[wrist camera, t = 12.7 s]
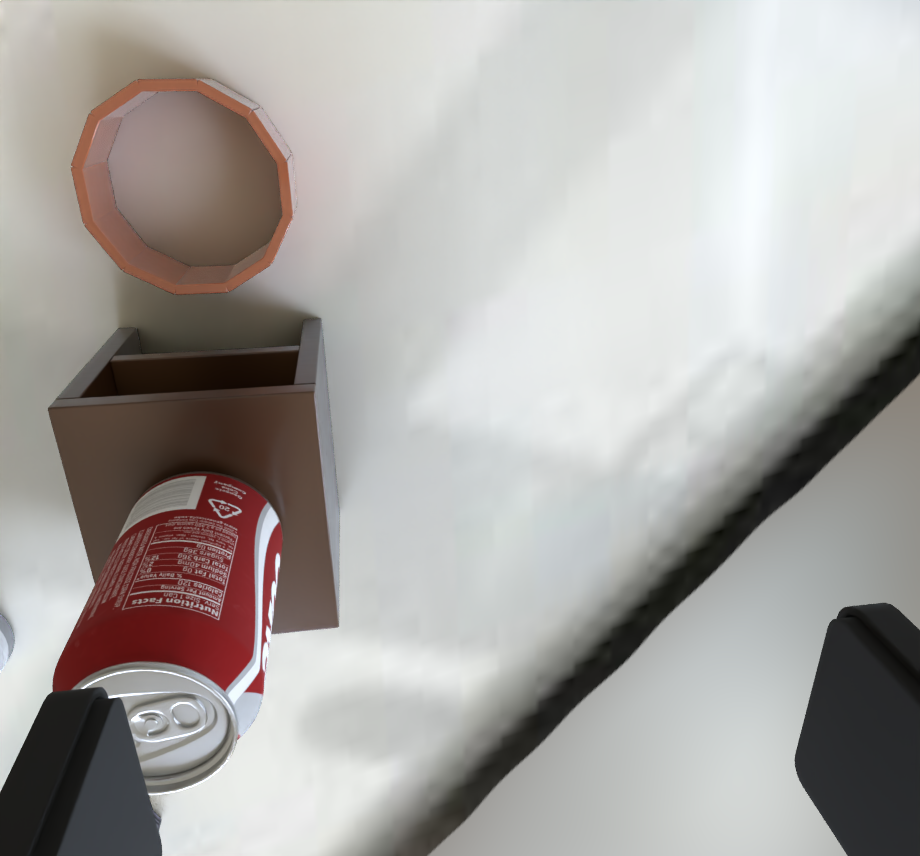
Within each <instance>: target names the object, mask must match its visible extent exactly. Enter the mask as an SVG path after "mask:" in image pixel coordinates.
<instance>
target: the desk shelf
mask: <svg viewBox="0 0 920 856" xmlns="http://www.w3.org/2000/svg"><path fill="white" fill-rule="evenodd" d="M48 412H49V416H50V419H51V423H52V427H53V430H54V434H55V438H56V442H57V445H58V449H59V453H60V456H61V460H62V464H63V468H64V471H65V475H66V479H67V482H68V486H69V490H70V493H71V497H72V501H73V505H74V508H75V512H76V516H77V519H78V523H79V527H80V530H81V534H82V538H83V542H84V545H85V549H86V553H87V556H88V560H89V564H90V567H91V571H92V575H93V579H94V582H95V584H96V582H97V580H98V578H99V576H100V574H101V572H102V570H103V568H104V566H105V564H106V562H107V560H108V557H109V555H110V553H111V551H112V549H113V547H114V545H115V543H116V541H117V539H118V537H119V535H120V533H121V531H122V529H123V527H124V524H125V522H126V520H127V518H128V516H129V514H130V512H131V510H132V508H133V506H134V505H135V503H136V502H137V500H138V499H139V498H140V497H141V496H142V494H143V493H145V492H146V491H147V490H148V489H149V488H151V487H152V486H153V485H155V484H156V483H158V482H160V481H162V480H164V479H166V478H168V477H171V476H174V475H178V474H182V473H187V472H197V471H205V472H215V473H221V474H225V475H229V476H232V477H235V478H237V479H240V480H242V481H244V482H246V483H248V484H249V485H251V486H252V487H254V488H255V489H257V490H258V491H259V492H260V493H262V494H263V495H264V496H265V497H266V498H267V500H268V501H269V502H270V503H271V505H272V506H273V508H274V509H275V511H276V513H277V515H278V517H279V520H280V523H281V527H282V533H283V543H282V551H281V559H280V567H279V575H278V583H277V590H276V598H275V606H274V614H273V622H272V629H271V634H279V633H289V632H298V631H308V630H318V629H328V628H337V627H339V543H340V512H339V501H338V490H337V479H336V469H335V458H334V447H333V436H332V425H331V415H330V404H329V393H328V382H327V371H326V361H325V350H324V339H323V328H322V319H320V318H317V319H304V322H303V329H302V335H301V341H300V347H299V346H283V347H265V348H246V349H228V350H210V351H192V352H173V353H155V354H142V351H141V346H140V341H139V336H138V331H137V328H119V329H118V330H117V331H116V332H115V333H114V334H113V335H112V336H111V337H110V339H109V340H108V341H107V342H106V343H105V344H104V345H103V346H102V348H101V349H100V350H99V351H98V352H97V353H96V354H95V355H94V357H93V358H92V359H91V360H90V361H89V362H88V363H87V364H86V366H85V367H84V368H83V369H82V370H81V371H80V372H79V373H78V375H77V376H76V377H75V378H74V379H73V380H72V381H71V382H70V384H69V385H68V386H67V387H66V388H65V389H64V390H63V391H62V393H61V394H60V395H59V396H58V397H57V398H56V400H55V401H54V402H53V403H52V404H51V405H50V406H49V408H48Z"/></svg>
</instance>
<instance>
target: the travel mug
mask: <svg viewBox="0 0 920 856" xmlns="http://www.w3.org/2000/svg"><path fill="white" fill-rule="evenodd" d="M13 648H14V635H13V632H12V629H11V626H10V625H9V623H8V622H7V620H6V619H5V618H4V617H3V616H2V615H1V614H0V672H1V671H2V669H3V668H4V666H5V664H6V662H7V661H8V659H9V657H10V655H11V653H12V651H13Z"/></svg>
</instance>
